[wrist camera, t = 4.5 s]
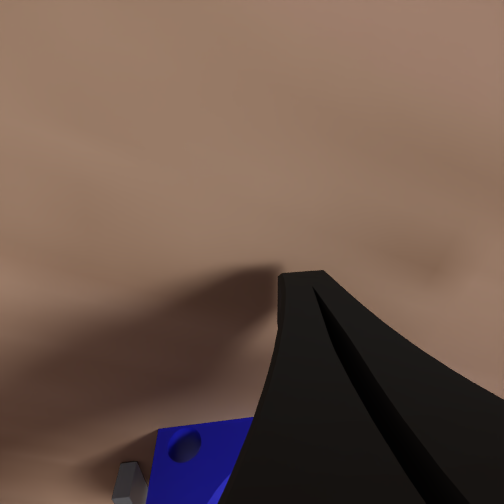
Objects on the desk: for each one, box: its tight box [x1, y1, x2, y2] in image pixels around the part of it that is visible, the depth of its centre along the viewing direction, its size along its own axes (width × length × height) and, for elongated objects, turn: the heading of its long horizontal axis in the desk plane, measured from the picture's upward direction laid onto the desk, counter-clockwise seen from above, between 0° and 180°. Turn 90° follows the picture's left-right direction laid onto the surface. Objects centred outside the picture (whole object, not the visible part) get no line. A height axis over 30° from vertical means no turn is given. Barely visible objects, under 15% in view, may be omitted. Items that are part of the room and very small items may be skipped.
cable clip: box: [146, 417, 253, 504], centre depth 13 cm, size 12×4×6 cm, turn 95°
